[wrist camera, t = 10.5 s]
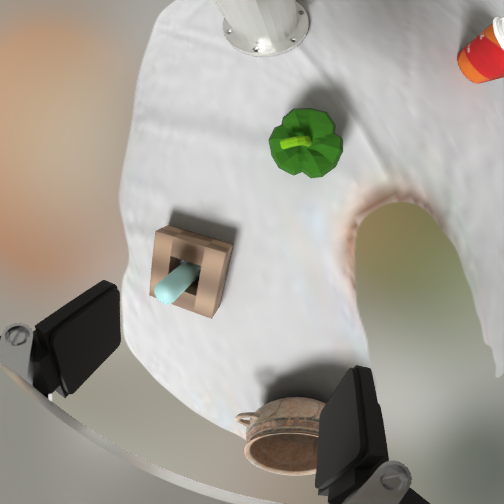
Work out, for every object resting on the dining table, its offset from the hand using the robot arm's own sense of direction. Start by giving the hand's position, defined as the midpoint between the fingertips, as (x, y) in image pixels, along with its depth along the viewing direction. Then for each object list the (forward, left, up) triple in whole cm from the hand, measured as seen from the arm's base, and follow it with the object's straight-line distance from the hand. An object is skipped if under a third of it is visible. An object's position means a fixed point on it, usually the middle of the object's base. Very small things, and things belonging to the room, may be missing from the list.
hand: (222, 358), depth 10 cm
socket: (+12, -12, -30) cm, 35 cm away
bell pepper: (-10, 0, -31) cm, 32 cm away
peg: (+12, -12, -30) cm, 35 cm away
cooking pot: (+37, +14, -31) cm, 50 cm away
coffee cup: (-34, +23, -30) cm, 51 cm away
